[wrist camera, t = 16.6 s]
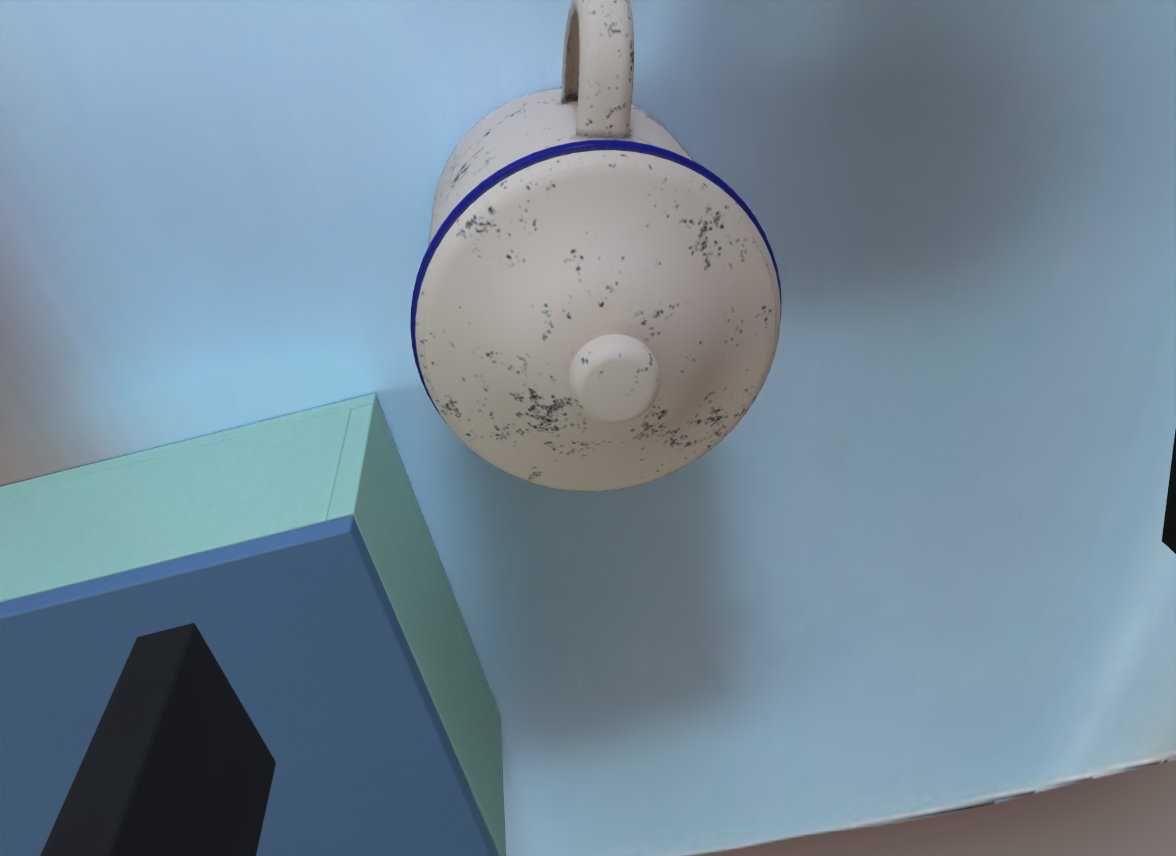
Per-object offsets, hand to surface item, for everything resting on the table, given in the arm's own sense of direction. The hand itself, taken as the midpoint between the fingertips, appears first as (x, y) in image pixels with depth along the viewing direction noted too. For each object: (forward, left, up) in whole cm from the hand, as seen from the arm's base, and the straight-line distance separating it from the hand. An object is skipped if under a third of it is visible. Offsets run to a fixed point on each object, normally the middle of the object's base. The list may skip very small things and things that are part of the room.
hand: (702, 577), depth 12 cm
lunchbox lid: (+16, +14, -12) cm, 25 cm away
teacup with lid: (0, 0, -20) cm, 20 cm away
